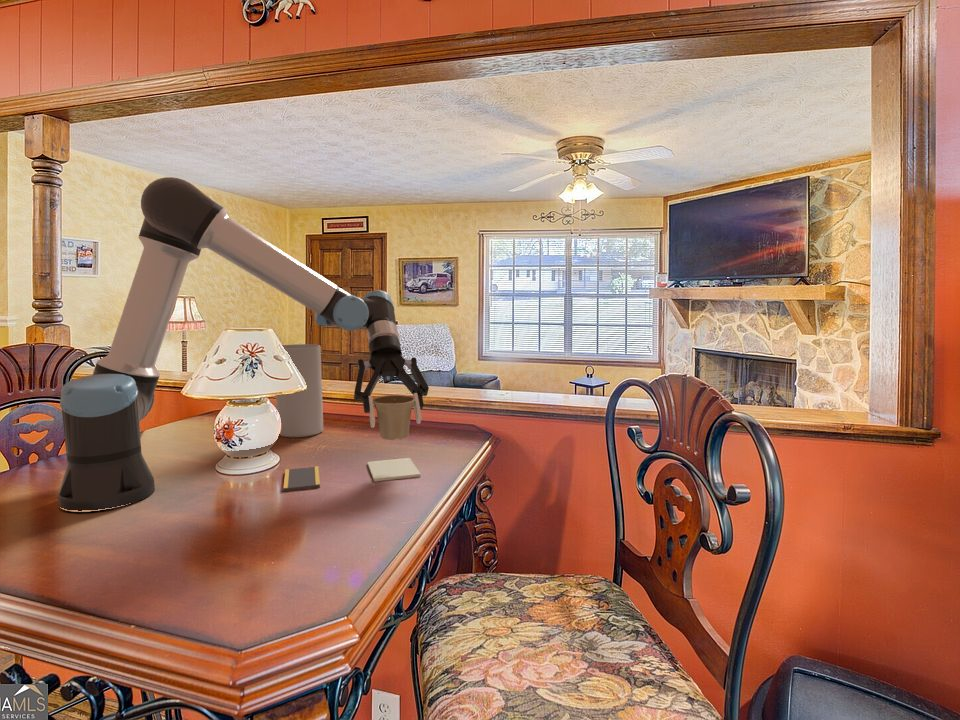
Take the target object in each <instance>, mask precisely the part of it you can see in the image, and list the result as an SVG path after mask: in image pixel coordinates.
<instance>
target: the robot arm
mask: <svg viewBox="0 0 960 720" xmlns="http://www.w3.org/2000/svg"><path fill="white" fill-rule="evenodd" d="M140 208H141V212H142V213H141V214H142V215H143V216H144V218H143V222H142V225H141V228H140V230H139V231H140V232H139V233H138V239H139V241H140V243H141V244H142V247H143V249H142V253H141V255H140V259H139V261H138V264H137V267H136V271H135V274H134V277H133V279H132V282H131V286H130V290H129V292H128V295H127V298H126V300H125V304H124V307H123V310H122V313H121V316H120V319H119V322H118V326H117V328H116V331H115V334H114V337H113V340H112V343H111V346H110V349H109V352H108V354H107V355H106V356H104V357H102V358H100V359H98V360H96V363H95V366H94V369H93V372H92V374H91V375H85V376H83V377H77V378H74V379H72V380H69V381H68V382H66V383H64V385H63V386H61V390H60V399H59V404H60V408H61V415H62V425H63V433H64V434H63V435H64V443H65V455H66V468H65V472H64V475H63V478H62V482H61V485H60V488H59V492H58V495H57V498H58V500H57V501H58V507H59V506H60V507H61V508H64V509H67V510H78V511H82V510H98V509H105V508H112V507H117V506H121V505H126V504H129V503H133V502H136V501H138V502H140V501H139V500H141V499H143V498H145V499H147V498H148V497H147V496H149V495H150V496H151V495H153V493H155V491H154V490H156V489H155V487H156V486H155V478H154V476H153V474H152V471H151V470H150V468H149V465H148V464H147V461H146V460H145V457H144V456H143V453H142V441H141V430H140V429H141V428H140V422H141V421H142V420H143V419H144V418H146V416H147V415H148V414H149V413H150V412H151V410H152V408H153V405H154V402H155V391H156V388H157V385H158V382H159V378H160V375H161V374H160V372H159V370H158V369H157V367H156V363H157V360H158V356H159V354H160V350H161V348H162V344H163V341H164V339H165V335H166V332H167V329H168V326H169V323H170V320H171V317H172V314H173V311H174V308H175V304H176V303H177V302H176V301H177V298H178V295H179V292H180V289H181V287H182V284H183V280H184V278H185V275H186V271H187V268H188V266H189V263H191V262H192V261H194V260H196V259H198V258H200V255H201V251H202V249H207V250H209V251H212V252H213V253H215V254H216V255H218V256H219V257H222V258H223V259H225V260H227V261H228V262H230V263H232V264H233V265H235V266H236V267H238V268H240V269H242V270H244V271H245V272H247V273H249V274H250V275H252V276H253V277H255V278H257V279H259V280H260V281H262V282H264V283H265V284H267V285H269V286H271V287H272V288H274V290H277V291H279V292H281V293H282V294H284V295H286V296H287V297H289V298H291V299H292V300H294V301H296V302H298V303H299V304H301V305H302V306H304V307H306V308H307V309H309V310H311V311H313V312H314V321H315V324H317V326H318V325H319V326H326V327H336V328H341V329H342V330H344V331H347V332H350V331H355V330H359V329H366V333H367V344H368V350H369V351H368V352H369V357H370V358H369V360H365V361H364V360H363V359H361V358H360V359H358V361H357V371H358V373H357V379H356V384H355V386H354V392H353V394H354V395H353V400H354V401H361V403H362V405H363V412H364V414H369V415H368V417H369V422H370V428H371V429H372V428H375V425H376V415H375V406H374V403H373V399H374V398H373V395H372V394H373V391H374V390H375V387H376V386H377V384H378V381H379V380H380V379H381V377H382V378H387V377H390V378H391V377H394V378H395V377H396V379H397V380H399V381H401V383H402V384H403V386H405V387H406V389H407V390H408V391H409V392H410V393H411V394H412V395H413V396H412V397H414V398H415V401H414V402H413V411H414V415H415V421H416V424H417V425H418V424H419V425H420V424H421V422H422V419H423V416H422V412H421V411H422V410H423V407H424V404H425V403H424V398H423V396H424V397H426V396H428V393H429V389H430V387H429V386H428V383H427V381H426V380H425V377H424V376H423V374H422V371H421V370H420V368H419V366H418V364H417V361H418V360H417V358H416V357H415V356H413V357H411V359H406V358H405V357H404V356H403V353H402V347H401V342H400V336H399V331H398V326H397V319H396V314H395V307H394V303H393V300H392V297H391V295H390V294H389V293H388V292H386V291H385V290H382V289H381V290H378V289H375V290H373V291H369V292H367V293H366V294H365V295H364V296H363V297H359V296H357V295H353V294H351V293H349V292H348V291H347V290H345V289H343V288H341V287H339V286H338V285H337V284H335V283H334V282H332V281H331V280H329V279H327V278H326V277H324V276H323V275H322V274H319V273H318V272H316V271H314V270H313V269H312V268H310V267H308V266H307V265H306V264H304V263H302V262H300V260H298V259H296V258H294V257H293V256H291V255H290V254H289V253H287V252H284V251H283V250H282V249H280V248H279V247H277V246H276V245H274V244H272V243H270V242H269V241H268V240H266V239H264V238H263V237H261V236H260V235H258V234H256V233H255V232H253V231H251V230H250V229H248V228H247V227H245V226H244V225H242V224H241V223H239V222H237V221H236V220H235V219H232V218H231V217H230V216H229V215H228V212H227V209H226V208H225V207H224V206H222V205H220V204H219V203H217V202H216V201H214V200H213V199H212V198H210V197H209V196H208V195H206V194H205V193H203V192H202V191H201V190H200V189H199V188H197V187H196V186H195V185H194V184H193V183H191V182H189V181H187V180H185V179H182V178H178V177H174V176H173V177H170V176H167V177H166V176H165V177H160V178H157V179H155V180H153V181H152V182H150V183H149V184H148V185H147V186H146V187H145V189H144V190H143V192H142V193H141V198H140ZM404 366H406V367H407V369H408V370H410V373H411V376H412V377H413V378H412V377H411V376H410V375H409V374H408V373H407V371H406V370H405V368H404ZM368 368H370V369H371V370H373V374H372V376H371V378H370V380H369V381H368V383H367V385H366V386H365V389H364V391H362V387H363V382H364V377H365V372H366V371H367V370H368ZM150 496H149V497H150ZM146 497H147V498H146ZM143 500H144V499H143ZM141 501H142V500H141ZM136 503H137V502H136ZM133 504H134V503H133Z"/></svg>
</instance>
